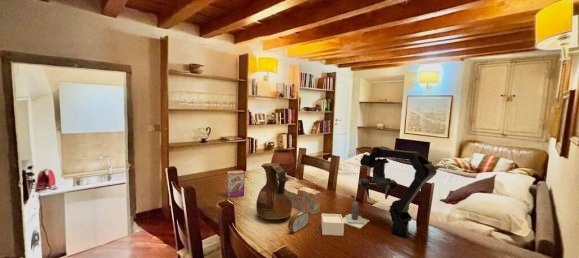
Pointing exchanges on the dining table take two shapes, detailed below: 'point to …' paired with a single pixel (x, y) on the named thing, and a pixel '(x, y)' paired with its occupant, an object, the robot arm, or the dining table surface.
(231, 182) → the candy bar box
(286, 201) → the ceramic pitcher
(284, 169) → the brown clay pot
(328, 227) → the box
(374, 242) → the dining table surface
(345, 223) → the mat
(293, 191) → the stack of blocks
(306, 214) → the tin
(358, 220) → the lid
